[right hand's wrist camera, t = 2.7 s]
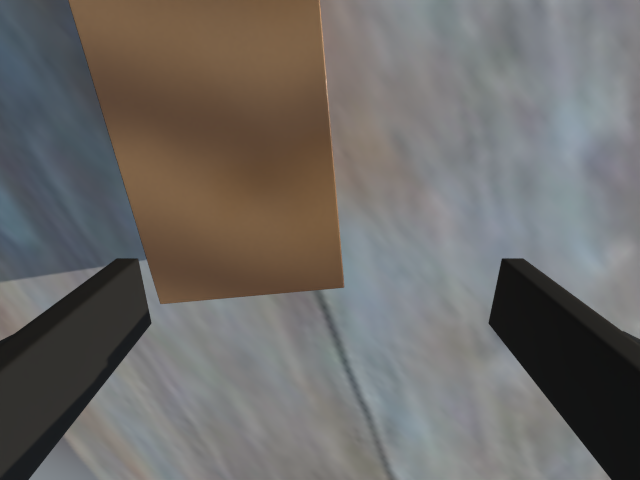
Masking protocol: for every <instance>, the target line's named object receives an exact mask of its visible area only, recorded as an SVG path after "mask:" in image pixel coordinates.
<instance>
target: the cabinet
mask: <svg viewBox="0 0 640 480" xmlns="http://www.w3.org/2000/svg"><path fill="white" fill-rule="evenodd" d="M68 1H69V4H70V8H71V11H72V14H73V17H74V21H75V24H76V27H77V31H78V34H79V37H80V41H81V44H82V47H83V50H84V54H85V57H86V60H87V64H88V67H89V70H90V74H91V77H92V80H93V83H94V87H95V90H96V93H97V97H98V100H99V103H100V106H101V110H102V113H103V116H104V120H105V123H106V126H107V130H108V133H109V136H110V139H111V143H112V146H113V149H114V153H115V156H116V159H117V163H118V166H119V169H120V172H121V176H122V179H123V182H124V186H125V189H126V192H127V195H128V199H129V202H130V205H131V209H132V212H133V215H134V219H135V222H136V225H137V228H138V232H139V235H140V238H141V242H142V245H143V248H144V252H145V255H146V258H147V261H148V265H149V268H150V271H151V275H152V278H153V281H154V285H155V288H156V291H157V294H158V298H159V301H160V304H167V303H178V302H189V301H200V300H211V299H222V298H234V297H245V296H256V295H267V294H278V293H289V292H300V291H311V290H323V289H334V288H344V278H343V266H342V255H341V243H340V232H339V220H338V208H337V197H336V185H335V173H334V162H333V150H332V138H331V127H330V115H329V103H328V92H327V80H326V68H325V57H324V45H323V33H322V22H321V10H320V0H68Z"/></svg>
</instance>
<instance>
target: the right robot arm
mask: <svg viewBox="0 0 640 480" xmlns="http://www.w3.org/2000/svg"><path fill="white" fill-rule="evenodd" d="M150 325H151V319H150V314H149V309H148V304H147V300H146V295H145V290H144V285H143V280H142V275H141V271H140V266H139V261H138V259H116V260H114V261H113V262H111V263H110V264H109V265H107V266H106V267H105V268H103V269H102V270H101V271H99V272H98V273H96V274H95V275H94V276H92V277H91V278H90V279H88V280H87V281H86V282H84V283H83V284H82V285H80V286H79V287H77V288H76V289H75V290H73V291H72V292H71V293H69V294H68V295H67V296H65V297H64V298H62V299H61V300H60V301H58V302H57V303H56V304H54V305H53V306H52V307H50V308H49V309H48V310H46V311H45V312H43V313H42V314H41V315H39V316H38V317H37V318H35V319H34V320H33V321H31V322H30V323H28V324H27V325H26V326H24V327H23V328H22V329H20V330H19V331H18V332H16V333H15V334H13V335H11V336H9V337H7V338H5V339H3V340H1V341H0V480H29V478H30V477H31V476H32V474H33V473H34V472H35V471H36V469H37V468H38V467H39V466H40V464H41V463H42V462H43V461H44V459H45V458H46V457H47V455H48V454H49V453H50V452H51V450H52V449H53V448H54V447H55V445H56V444H57V443H58V441H59V440H60V439H61V438H62V436H63V435H64V434H65V433H66V431H67V430H68V429H69V427H70V426H71V425H72V424H73V422H74V421H75V420H76V419H77V417H78V416H79V415H80V413H81V412H82V411H83V410H84V408H85V407H86V406H87V405H88V403H89V402H90V401H91V400H92V398H93V397H94V396H95V394H96V393H97V392H98V391H99V389H100V388H101V387H102V386H103V384H104V383H105V382H106V380H107V379H108V378H109V377H110V375H111V374H112V373H113V372H114V370H115V369H116V368H117V366H118V365H119V364H120V363H121V361H122V360H123V359H124V358H125V356H126V355H127V354H128V352H129V351H130V350H131V349H132V347H133V346H134V345H135V344H136V342H137V341H138V340H139V339H140V337H141V336H142V335H143V333H144V332H145V331H146V330H147V328H148V327H149V326H150ZM489 325H490V326H491V327H492V328H493V330H494V331H495V332H496V333H497V335H498V336H499V337H500V339H501V340H502V341H503V342H504V344H505V345H506V346H507V347H508V349H509V350H510V351H511V352H512V354H513V355H514V356H515V358H516V359H517V360H518V361H519V363H520V364H521V365H522V366H523V368H524V369H525V370H526V372H527V373H528V374H529V375H530V377H531V378H532V379H533V380H534V382H535V383H536V384H537V386H538V387H539V388H540V389H541V391H542V392H543V393H544V394H545V396H546V397H547V398H548V400H549V401H550V402H551V403H552V405H553V406H554V407H555V408H556V410H557V411H558V412H559V413H560V415H561V416H562V417H563V419H564V420H565V421H566V422H567V424H568V425H569V426H570V427H571V429H572V430H573V431H574V433H575V434H576V435H577V436H578V438H579V439H580V440H581V441H582V443H583V444H584V445H585V447H586V448H587V449H588V450H589V452H590V453H591V454H592V455H593V457H594V458H595V459H596V461H597V462H598V463H599V464H600V466H601V467H602V468H603V469H604V471H605V472H606V473H607V474H608V476H609V477H610V478H611V480H640V339H638V338H636V337H634V336H632V335H630V334H628V333H626V332H624V331H621V330H620V329H618V328H617V327H616V326H614V325H613V324H612V323H610V322H609V321H607V320H606V319H605V318H603V317H602V316H601V315H599V314H598V313H597V312H595V311H594V310H592V309H591V308H590V307H588V306H587V305H586V304H584V303H583V302H582V301H580V300H579V299H578V298H576V297H575V296H573V295H572V294H571V293H569V292H568V291H567V290H565V289H564V288H563V287H561V286H560V285H558V284H557V283H556V282H554V281H553V280H552V279H550V278H549V277H548V276H546V275H545V274H544V273H542V272H541V271H539V270H538V269H537V268H535V267H534V266H533V265H531V264H530V263H529V262H527V261H526V260H524V259H502V261H501V266H500V271H499V275H498V280H497V285H496V290H495V295H494V300H493V304H492V309H491V314H490V319H489Z"/></svg>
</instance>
